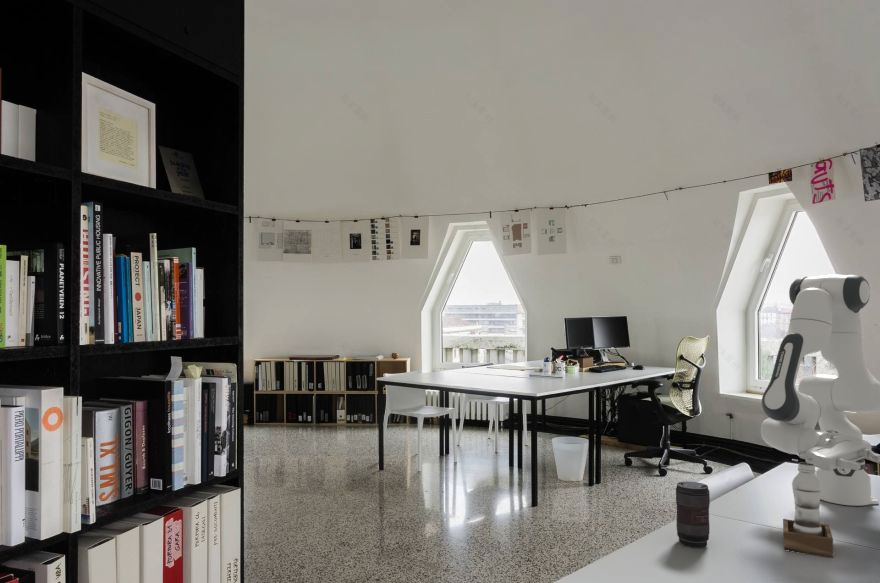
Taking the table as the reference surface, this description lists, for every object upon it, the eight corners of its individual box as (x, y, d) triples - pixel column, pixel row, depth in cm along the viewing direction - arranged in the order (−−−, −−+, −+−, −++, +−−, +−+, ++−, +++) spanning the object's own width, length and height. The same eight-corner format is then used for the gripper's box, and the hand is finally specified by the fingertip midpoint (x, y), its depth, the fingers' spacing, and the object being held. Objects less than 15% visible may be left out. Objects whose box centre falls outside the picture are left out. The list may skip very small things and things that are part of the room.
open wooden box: (783, 535, 171) (783, 518, 171) (829, 542, 166) (829, 525, 166) (784, 550, 161) (783, 532, 161) (833, 558, 156) (832, 539, 156)
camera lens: (710, 540, 168) (709, 482, 168) (709, 551, 160) (709, 490, 160) (677, 535, 171) (677, 479, 171) (675, 546, 163) (674, 486, 164)
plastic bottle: (827, 549, 160) (826, 467, 160) (797, 547, 161) (797, 466, 161) (816, 539, 166) (816, 461, 166) (788, 538, 167) (787, 460, 168)
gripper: (794, 443, 176) (846, 460, 164) (839, 428, 185) (891, 443, 173) (794, 465, 176) (845, 483, 164) (838, 449, 186) (890, 465, 174)
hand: (869, 462), depth 169 cm, fingers open, 8 cm apart
